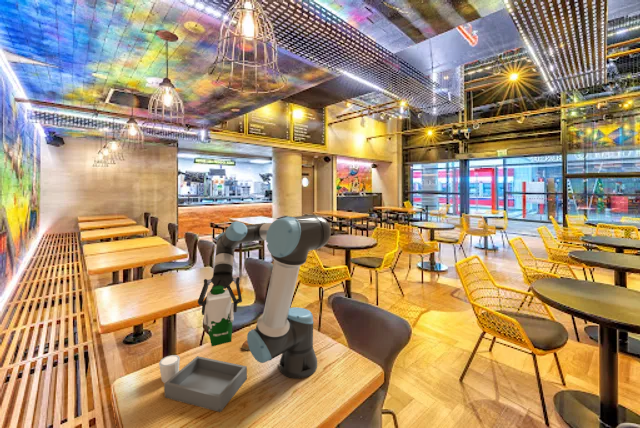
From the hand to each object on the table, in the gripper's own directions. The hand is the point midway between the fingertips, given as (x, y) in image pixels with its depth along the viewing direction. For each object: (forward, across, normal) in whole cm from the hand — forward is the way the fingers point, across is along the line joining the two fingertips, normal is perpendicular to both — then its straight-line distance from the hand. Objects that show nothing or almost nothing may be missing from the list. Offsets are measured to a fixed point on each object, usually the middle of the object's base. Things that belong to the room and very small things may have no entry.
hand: (218, 322), depth 100 cm
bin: (+19, +4, -13) cm, 23 cm away
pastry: (+2, -11, -31) cm, 33 cm away
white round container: (+13, +19, -19) cm, 30 cm away
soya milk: (+4, 0, -9) cm, 10 cm away
